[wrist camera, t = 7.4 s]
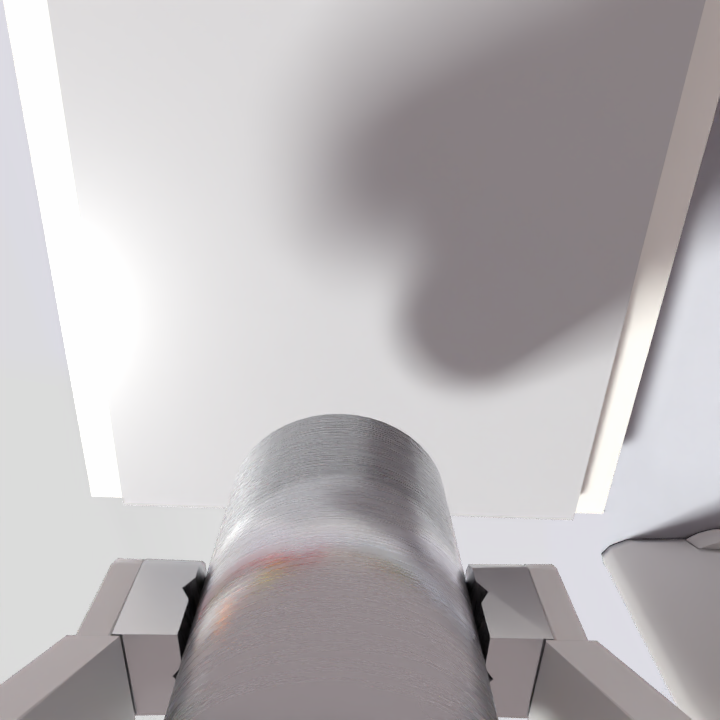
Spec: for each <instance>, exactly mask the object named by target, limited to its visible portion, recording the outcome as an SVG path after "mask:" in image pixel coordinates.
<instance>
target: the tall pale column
mask: <svg viewBox="0 0 720 720" xmlns="http://www.w3.org/2000/svg"><path fill="white" fill-rule="evenodd" d="M602 558H603V563H604V565H605V567H606V569H607V571H608V573H609V574H610V576H611V578H612V580H613V582H614V584H615V586H616V588H617V590H618V592H619V594H620V596H621V598H622V600H623V602H624V604H625V605H626V607H627V609H628V611H629V614H630V616H631V618H632V620H633V622H634V624H635V626H636V628H637V630H638V632H639V634H640V636H641V637H642V639H643V641H644V643H645V645H646V647H647V649H648V651H649V653H650V655H651V657H652V659H653V661H654V663H655V665H656V666H657V668H658V670H659V672H660V674H661V676H662V678H663V680H664V682H665V684H666V686H667V688H668V690H669V692H670V694H671V696H672V698H673V700H674V702H675V704H676V706H677V707H678V708H679V709H680V710H681V711H683V712H684V713H685V714H686V715H688V716H689V717H690V718H691V719H692V720H720V529H713V530H709V531H705V532H701V533H697V534H695V535H694V536H692V537H690V538H688V539H684V538H682V539H632V540H626V541H623V542H620V543H617V544H614V545H611V546H609V547H608V548H607V549H606V550H605V551H604V552H603V553H602Z"/></svg>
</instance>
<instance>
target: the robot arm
mask: <svg viewBox="0 0 720 720" xmlns="http://www.w3.org/2000/svg"><path fill="white" fill-rule="evenodd" d="M206 575H207V572H206V565H205V563H204V562H203V561H191V560H165V559H124V558H118V559H116V560H115V561H114V562H113V563H112V564H111V566H110V568H109V570H108V572H107V574H106V576H105V578H104V580H103V582H102V584H101V586H100V588H99V590H98V592H97V594H96V596H95V598H94V600H93V602H92V604H91V606H90V608H89V610H88V612H87V614H86V616H85V618H84V620H83V622H82V624H81V626H80V628H79V630H78V632H77V634H76V635H66V636H65V637H64V638H62V639H61V640H60V641H58V642H57V643H56V644H54V645H53V646H52V647H50V648H49V649H48V650H46V651H45V652H44V653H42V654H41V655H40V656H38V657H37V658H36V659H34V660H33V661H32V662H30V663H29V664H28V665H26V666H25V667H24V668H22V669H21V670H20V671H18V672H17V673H16V674H14V675H13V676H12V677H10V678H9V679H8V680H6V681H5V682H4V683H2V684H1V685H0V720H135V715H165V714H166V711H167V708H168V704H169V701H170V697H171V694H172V691H173V687H174V684H175V680H176V677H177V674H178V670H179V667H180V663H181V660H182V657H183V653H184V650H185V646H186V643H187V640H188V636H189V633H190V629H191V626H192V623H193V619H194V616H195V612H196V609H197V606H198V602H199V599H200V595H201V592H202V589H203V585H204V582H205V578H206ZM465 580H466V584H467V588H468V593H469V597H470V601H471V605H472V610H473V614H474V618H475V622H476V627H477V631H478V635H479V639H480V644H481V648H482V652H483V656H484V661H485V665H486V669H487V673H488V678H489V682H490V686H491V690H492V695H493V699H494V703H495V707H496V712H497V716H498V717H511V718H528V720H692V719H691V718H690V717H689V716H688V715H686V714H685V713H684V712H683V711H681V710H680V709H679V708H678V707H677V706H675V705H674V704H673V703H672V702H671V701H669V700H668V699H667V698H666V697H664V696H663V695H662V694H661V693H660V692H658V691H657V690H656V689H655V688H654V687H652V686H651V685H650V684H649V683H647V682H646V681H645V680H644V679H643V678H641V677H640V676H639V675H638V674H637V673H635V672H634V671H633V670H632V669H630V668H629V667H628V666H627V665H626V664H624V663H623V662H622V661H621V660H620V659H618V658H617V657H616V656H615V655H613V654H612V653H611V652H610V651H609V650H607V649H606V648H605V647H604V646H603V645H601V644H600V643H599V642H598V641H588V639H587V637H586V634H585V632H584V630H583V628H582V625H581V623H580V621H579V618H578V616H577V614H576V611H575V609H574V607H573V605H572V602H571V600H570V598H569V595H568V593H567V591H566V588H565V586H564V584H563V582H562V579H561V577H560V575H559V572H558V570H557V568H556V567H555V566H554V565H552V564H525V565H507V564H469V565H468V567H467V570H466V575H465Z"/></svg>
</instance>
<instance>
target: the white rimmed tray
mask: <svg viewBox="0 0 720 720" xmlns="http://www.w3.org/2000/svg"><path fill="white" fill-rule="evenodd" d="M3 3H4V8H5V14H6V19H7V25H8V31H9V36H10V42H11V47H12V53H13V59H14V64H15V70H16V75H17V81H18V87H19V92H20V98H21V103H22V109H23V115H24V120H25V126H26V131H27V137H28V143H29V148H30V154H31V159H32V165H33V171H34V176H35V182H36V187H37V193H38V199H39V204H40V210H41V216H42V221H43V227H44V232H45V238H46V244H47V249H48V255H49V260H50V266H51V272H52V277H53V283H54V288H55V294H56V300H57V305H58V311H59V316H60V322H61V328H62V333H63V339H64V344H65V350H66V356H67V361H68V367H69V372H70V378H71V384H72V389H73V395H74V400H75V406H76V412H77V417H78V423H79V428H80V434H81V440H82V445H83V451H84V456H85V462H86V468H87V473H88V479H89V484H90V490H91V496H94V497H122V500H123V505H138V506H167V507H196V508H226V507H227V504H228V500H229V497H230V494H231V490H232V487H233V483H234V480H235V477H236V475H237V472H238V470H239V468H240V466H241V464H242V462H243V460H244V459H245V458H246V456H247V455H248V454H249V452H250V451H251V450H252V449H253V448H254V447H255V446H256V445H257V444H258V443H259V442H260V441H261V440H262V439H264V438H265V437H266V436H268V435H269V434H270V433H272V432H274V431H275V430H277V429H279V428H281V427H283V426H284V425H287V424H289V423H292V422H294V421H297V420H300V419H304V418H308V417H312V416H318V415H325V414H349V415H358V416H363V417H368V418H372V419H375V420H379V421H382V422H385V423H387V424H389V425H391V426H393V427H395V428H398V429H399V430H401V431H402V432H404V433H405V434H407V435H409V436H410V437H411V438H412V439H414V440H415V441H416V442H417V443H418V444H420V445H421V447H422V448H423V449H424V450H425V451H426V452H427V453H428V454H429V456H430V457H431V459H432V460H433V462H434V463H435V465H436V467H437V469H438V471H439V473H440V476H441V479H442V483H443V486H444V490H445V495H446V499H447V503H448V507H449V512H450V516H462V517H491V518H520V519H550V520H573V519H574V515H575V513H590V514H603V512H604V508H605V505H606V501H607V497H608V494H609V490H610V487H611V483H612V480H613V476H614V472H615V469H616V465H617V462H618V458H619V454H620V451H621V447H622V444H623V440H624V437H625V433H626V429H627V426H628V422H629V419H630V415H631V412H632V408H633V404H634V401H635V397H636V394H637V390H638V387H639V383H640V379H641V376H642V372H643V369H644V365H645V362H646V358H647V354H648V351H649V347H650V344H651V340H652V337H653V333H654V329H655V326H656V322H657V319H658V315H659V312H660V308H661V304H662V301H663V297H664V294H665V290H666V287H667V283H668V279H669V276H670V272H671V269H672V265H673V262H674V258H675V254H676V251H677V247H678V244H679V240H680V237H681V233H682V229H683V226H684V222H685V219H686V215H687V212H688V208H689V204H690V201H691V197H692V194H693V190H694V186H695V183H696V179H697V176H698V172H699V169H700V165H701V161H702V158H703V154H704V151H705V147H706V144H707V140H708V136H709V133H710V129H711V126H712V122H713V119H714V115H715V111H716V108H717V104H718V101H719V97H720V0H3Z"/></svg>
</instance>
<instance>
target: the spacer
mask: <svg viewBox="0 0 720 720" xmlns="http://www.w3.org/2000/svg"><path fill="white" fill-rule="evenodd" d="M164 720H498V716H497V712H496V707H495V703H494V699H493V695H492V690H491V686H490V682H489V678H488V673H487V669H486V665H485V661H484V656H483V652H482V648H481V644H480V639H479V635H478V631H477V627H476V622H475V618H474V614H473V610H472V605H471V601H470V597H469V593H468V588H467V584H466V580H465V575H464V571H463V567H462V563H461V558H460V554H459V550H458V546H457V541H456V537H455V533H454V529H453V524H452V520H451V516H450V512H449V507H448V503H447V499H446V495H445V490H444V486H443V483H442V479H441V476H440V473H439V471H438V469H437V467H436V465H435V463H434V462H433V460H432V459H431V457H430V456H429V454H428V453H427V452H426V451H425V450H424V449H423V448H422V447H421V445H420V444H418V443H417V442H416V441H415V440H414V439H412V438H411V437H410V436H409V435H407V434H405V433H404V432H402V431H401V430H399V429H398V428H395V427H393V426H391V425H389V424H387V423H385V422H382V421H379V420H375V419H372V418H368V417H363V416H358V415H349V414H325V415H318V416H312V417H308V418H304V419H300V420H297V421H294V422H292V423H289V424H287V425H284V426H283V427H281V428H279V429H277V430H275V431H274V432H272V433H270V434H269V435H268V436H266V437H265V438H264V439H262V440H261V441H260V442H259V443H258V444H257V445H256V446H255V447H254V448H253V449H252V450H251V451H250V452H249V454H248V455H247V456H246V458H245V459H244V460H243V462H242V464H241V466H240V468H239V470H238V472H237V475H236V477H235V480H234V483H233V487H232V490H231V494H230V497H229V500H228V504H227V507H226V511H225V514H224V517H223V521H222V524H221V528H220V531H219V534H218V538H217V541H216V545H215V548H214V551H213V555H212V558H211V561H210V565H209V568H208V572H207V575H206V578H205V582H204V585H203V589H202V592H201V595H200V599H199V602H198V606H197V609H196V612H195V616H194V619H193V623H192V626H191V629H190V633H189V636H188V640H187V643H186V646H185V650H184V653H183V657H182V660H181V663H180V667H179V670H178V674H177V677H176V680H175V684H174V687H173V691H172V694H171V697H170V701H169V704H168V708H167V711H166V714H165V718H164Z"/></svg>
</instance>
